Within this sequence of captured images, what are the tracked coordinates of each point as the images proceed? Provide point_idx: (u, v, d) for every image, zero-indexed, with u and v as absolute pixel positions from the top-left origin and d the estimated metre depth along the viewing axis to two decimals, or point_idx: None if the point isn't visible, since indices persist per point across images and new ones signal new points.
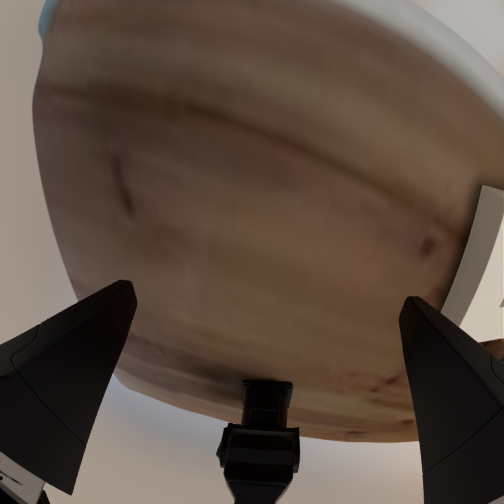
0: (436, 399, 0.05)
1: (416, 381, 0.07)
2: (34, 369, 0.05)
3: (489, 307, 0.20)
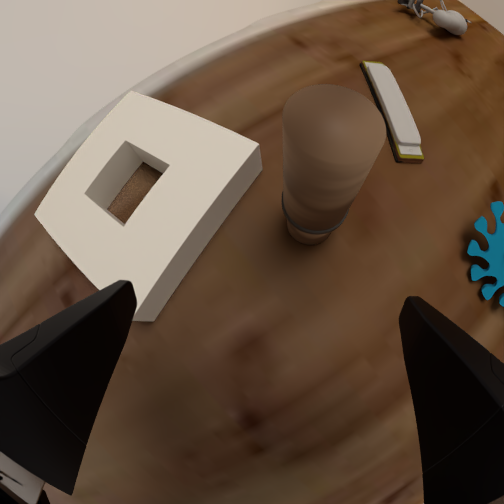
0: (436, 399, 0.05)
1: (416, 381, 0.07)
2: (34, 369, 0.05)
3: (109, 245, 0.20)
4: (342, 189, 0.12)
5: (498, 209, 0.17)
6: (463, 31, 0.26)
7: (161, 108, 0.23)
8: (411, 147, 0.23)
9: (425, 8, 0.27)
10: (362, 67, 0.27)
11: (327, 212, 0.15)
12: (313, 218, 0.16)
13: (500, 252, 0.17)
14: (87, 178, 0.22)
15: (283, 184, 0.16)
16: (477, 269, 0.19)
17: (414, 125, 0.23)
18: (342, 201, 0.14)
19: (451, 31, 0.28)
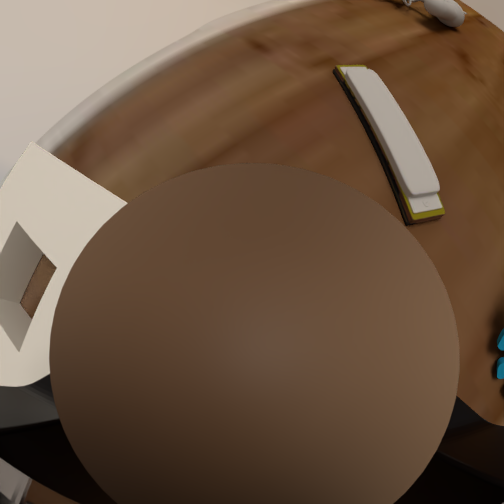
0: None
1: None
2: None
3: (11, 372, 0.11)
4: None
5: None
6: (460, 22, 0.21)
7: (55, 169, 0.14)
8: (427, 198, 0.15)
9: None
10: (337, 75, 0.19)
11: None
12: None
13: None
14: None
15: None
16: None
17: (428, 161, 0.15)
18: None
19: (446, 22, 0.23)
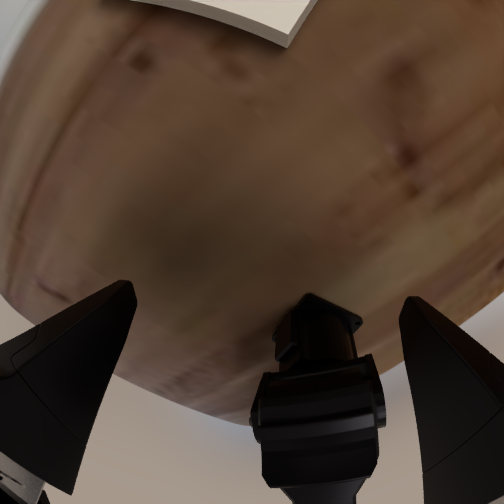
0: (436, 399, 0.05)
1: (416, 381, 0.07)
2: (34, 368, 0.05)
3: None
4: None
5: None
6: None
7: None
8: None
9: None
10: None
11: None
12: None
13: None
14: None
15: None
16: None
17: None
18: None
19: None
